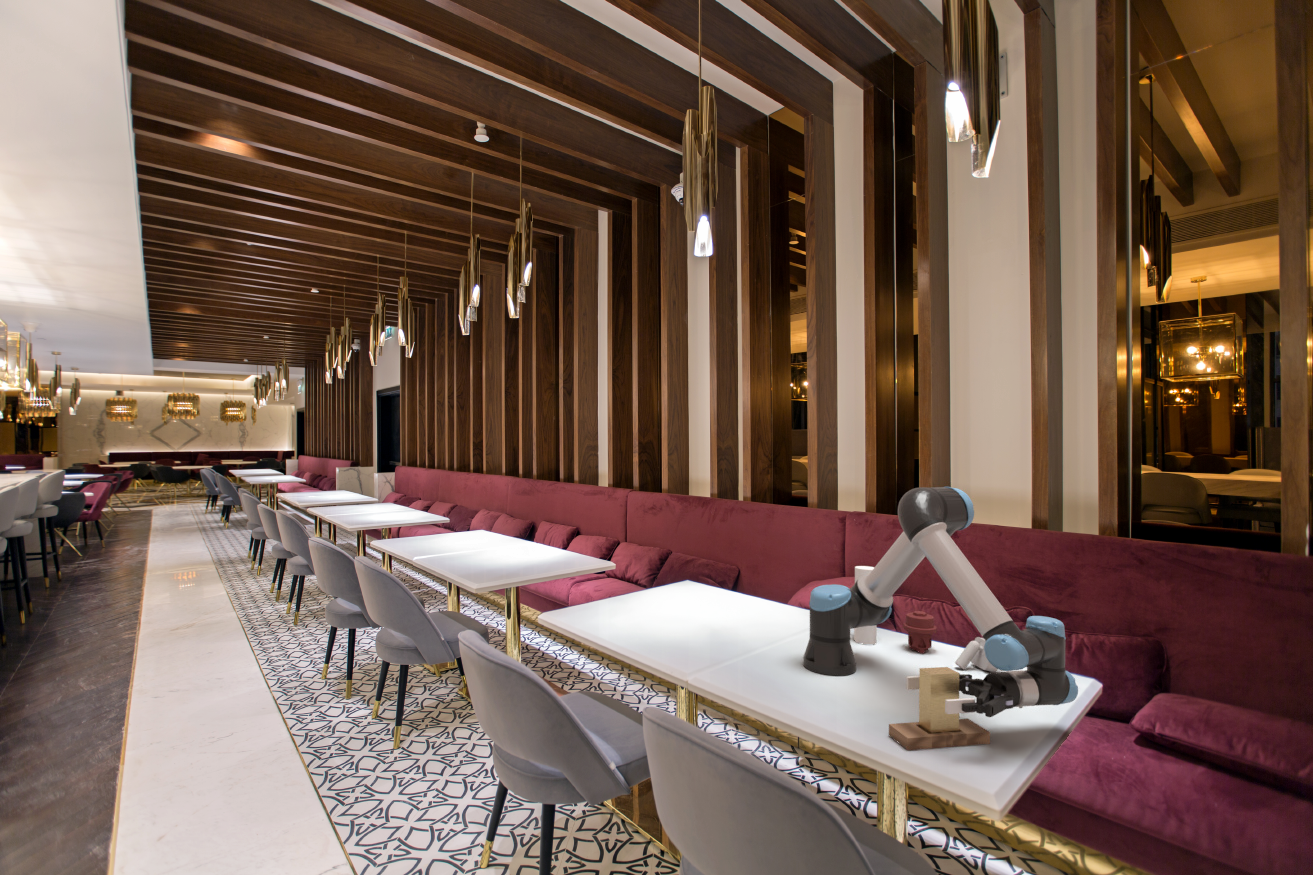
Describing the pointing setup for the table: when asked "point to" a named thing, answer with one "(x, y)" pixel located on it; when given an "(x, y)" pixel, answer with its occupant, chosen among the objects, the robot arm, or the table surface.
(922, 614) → the mechanical component
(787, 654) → the table surface
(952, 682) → the tall wooden block
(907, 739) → the slotted wooden base
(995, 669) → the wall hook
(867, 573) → the cylindrical container
